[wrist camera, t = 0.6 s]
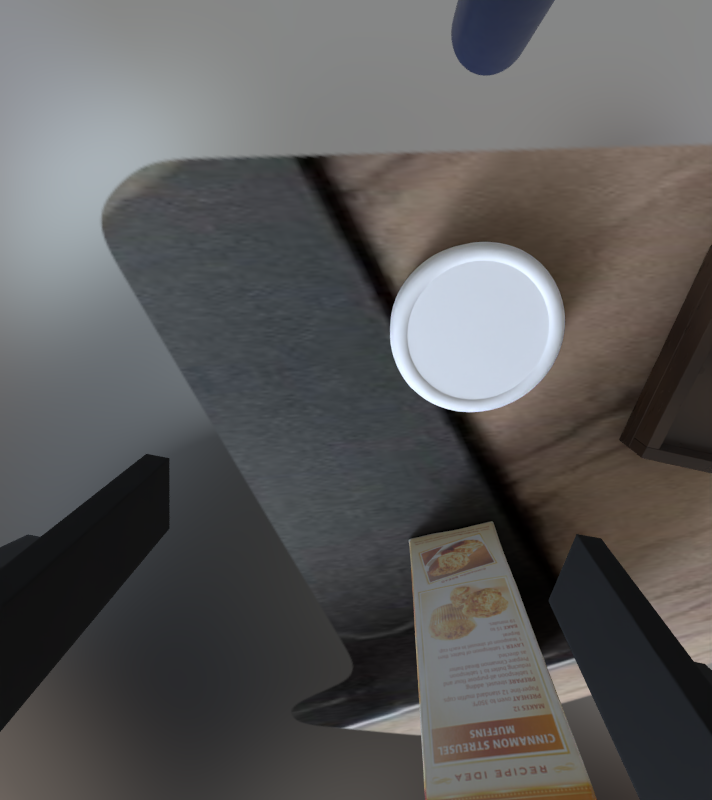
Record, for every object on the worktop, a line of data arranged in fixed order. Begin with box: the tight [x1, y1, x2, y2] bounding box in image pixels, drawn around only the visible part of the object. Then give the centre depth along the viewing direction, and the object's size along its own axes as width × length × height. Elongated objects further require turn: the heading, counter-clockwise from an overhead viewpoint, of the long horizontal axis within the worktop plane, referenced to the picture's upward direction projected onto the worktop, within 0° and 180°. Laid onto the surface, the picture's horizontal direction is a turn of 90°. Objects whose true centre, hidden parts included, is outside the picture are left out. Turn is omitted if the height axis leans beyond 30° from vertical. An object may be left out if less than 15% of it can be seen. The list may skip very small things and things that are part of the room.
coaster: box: [390, 242, 565, 412], centre depth 25 cm, size 10×10×4 cm
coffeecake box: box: [408, 521, 597, 800], centre depth 24 cm, size 15×7×20 cm, turn 19°
